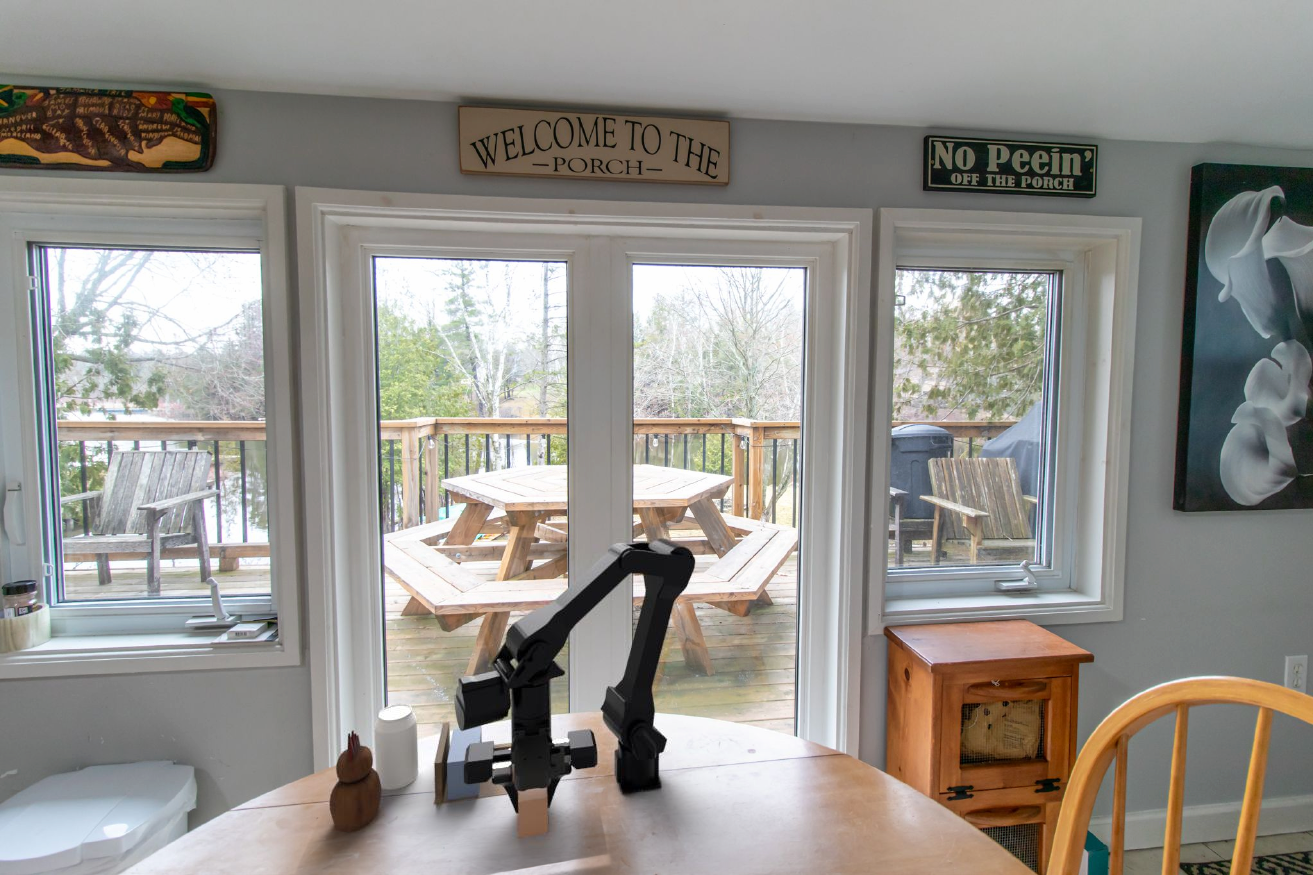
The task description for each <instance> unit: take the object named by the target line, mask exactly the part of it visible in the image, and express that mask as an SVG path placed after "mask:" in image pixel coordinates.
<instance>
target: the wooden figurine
mask: <svg viewBox="0 0 1313 875" xmlns="http://www.w3.org/2000/svg"><path fill="white" fill-rule="evenodd" d="M354 731H355V730H351V733H349V732H348V733H347V749H345V750H344V751H342V752H341V754H340V755H339V756H338V759H337V762H336V764H335V765H336V766H335V771H336V777H337V778H338V781H337V782H336V783H335V785H334V787H333V788H332V790H331V794H330V797H329V811H330V815H331V818H332V822H333V824H334V826H335V827H336V828H337V829H338V830H340V831H341V832H347V833H349V832H355V831H358V830H360V829H363V828H364V827H366V826H368V824H370V823H371V822H372V821H373V820H374V819H375V817H376V815H377V812H378V809H379V806H380V802H381V799H382V788H381V783H380V778H379V775H378V773H377V772H376V769H375V768H373V764H374V763H373V762H374V758H373V753H372V750H371V749H370V748H369V747H368V746H367V745H361V741H360V736H359V735H357V733H355V732H354Z"/></svg>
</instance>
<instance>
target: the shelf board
mask: <svg viewBox="0 0 1313 875" xmlns="http://www.w3.org/2000/svg"><path fill="white" fill-rule="evenodd" d="M450 729H451V728H450V722H449V721H448V722H447V721H446V722H443V723H442V727H441V730H440V735H439V739H438V744H437V748H436V752H435V754H436V755H435V758H434V763H433V765H434V766H433V767H434V768H433V769H434V772H433V773H434V800H433V806H435V805H441V804H448V803H454V802H462V801H469V800H470V801H471V800H476V799H482V798H490V797H496V796H502V795H503V796H504V795H508V793H507V792H506V790H505V789H504V787H503V786H502V785H499V784H498V785H494V784H493V783H492V777H491V778H490V779H489V780H488V781H487V782H483V783H480V788H479V796H474V797H467V798H460V799H452V800H448V782H447V760H448V755H449V749H450V744H451V734H450V732H451V731H450ZM511 743H512V742H507V743H498V744H494V751H499V750H507V749H511Z"/></svg>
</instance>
